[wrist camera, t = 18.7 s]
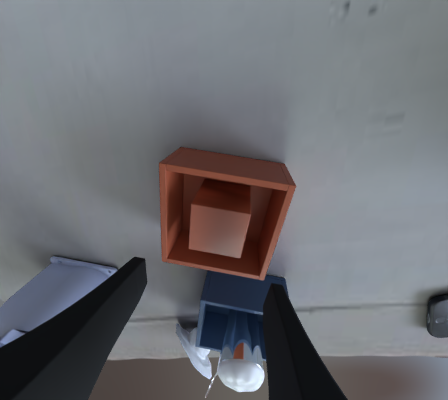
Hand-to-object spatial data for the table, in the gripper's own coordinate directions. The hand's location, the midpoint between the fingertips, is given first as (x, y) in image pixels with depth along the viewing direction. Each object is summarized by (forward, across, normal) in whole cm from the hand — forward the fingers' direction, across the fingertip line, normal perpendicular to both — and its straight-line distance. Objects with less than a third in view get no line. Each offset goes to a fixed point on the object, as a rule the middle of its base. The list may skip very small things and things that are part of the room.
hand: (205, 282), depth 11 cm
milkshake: (+10, -4, +14) cm, 17 cm away
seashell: (+10, +1, +24) cm, 26 cm away
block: (+10, 0, 0) cm, 10 cm away
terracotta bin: (+10, 0, 0) cm, 10 cm away
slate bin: (+10, -4, +14) cm, 18 cm away
